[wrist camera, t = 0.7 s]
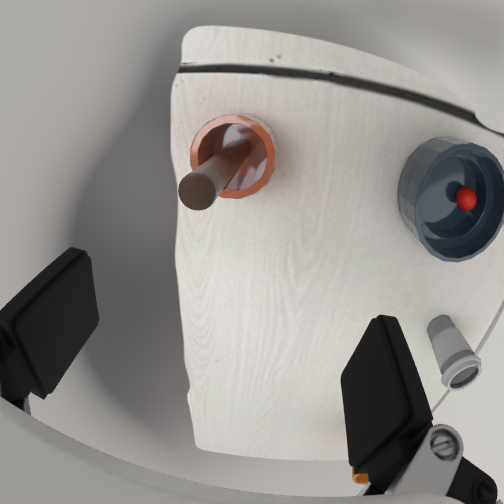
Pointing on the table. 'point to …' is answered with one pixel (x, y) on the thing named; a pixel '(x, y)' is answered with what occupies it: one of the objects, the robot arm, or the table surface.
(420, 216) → the bowl
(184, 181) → the stick
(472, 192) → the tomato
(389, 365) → the robot arm
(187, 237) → the table surface
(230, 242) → the table surface
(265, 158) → the holder
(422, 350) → the table surface
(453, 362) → the cup
